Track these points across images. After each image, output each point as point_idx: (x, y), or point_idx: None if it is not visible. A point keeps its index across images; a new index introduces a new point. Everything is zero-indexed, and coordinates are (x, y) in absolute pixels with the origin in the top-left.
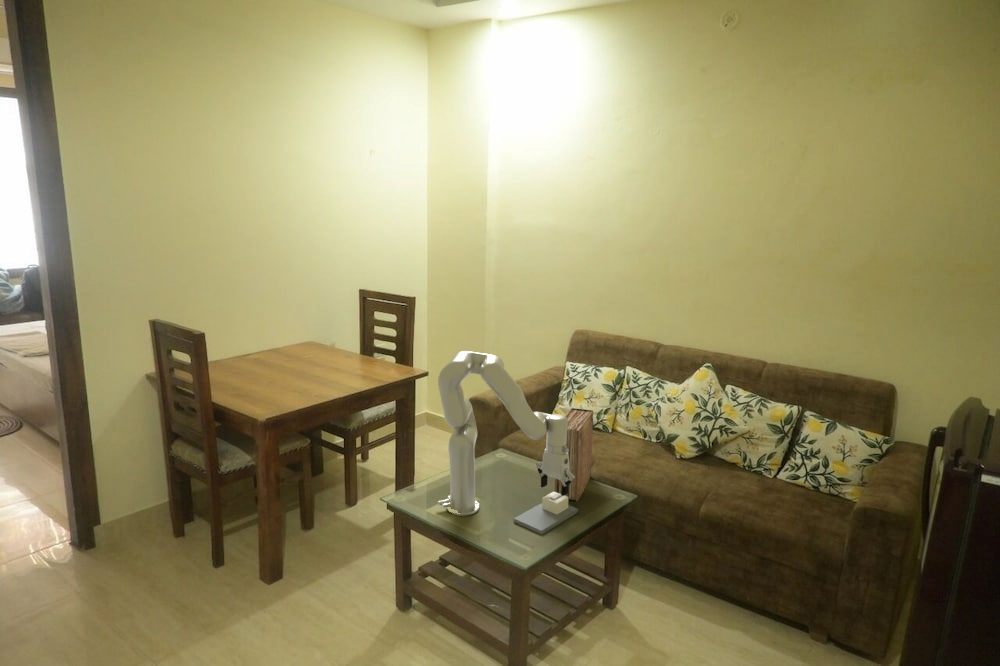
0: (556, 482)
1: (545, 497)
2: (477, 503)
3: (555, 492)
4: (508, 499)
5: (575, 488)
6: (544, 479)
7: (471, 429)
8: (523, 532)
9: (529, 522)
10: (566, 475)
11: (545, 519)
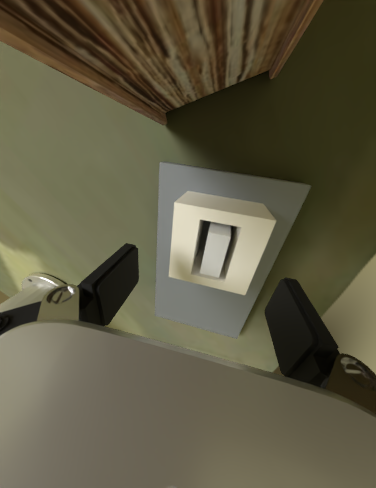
0: (122, 84)
1: (178, 271)
2: (56, 285)
3: (188, 208)
4: (70, 225)
5: (283, 22)
6: (112, 301)
7: None
8: (198, 330)
9: (193, 319)
10: (364, 443)
11: (221, 298)
